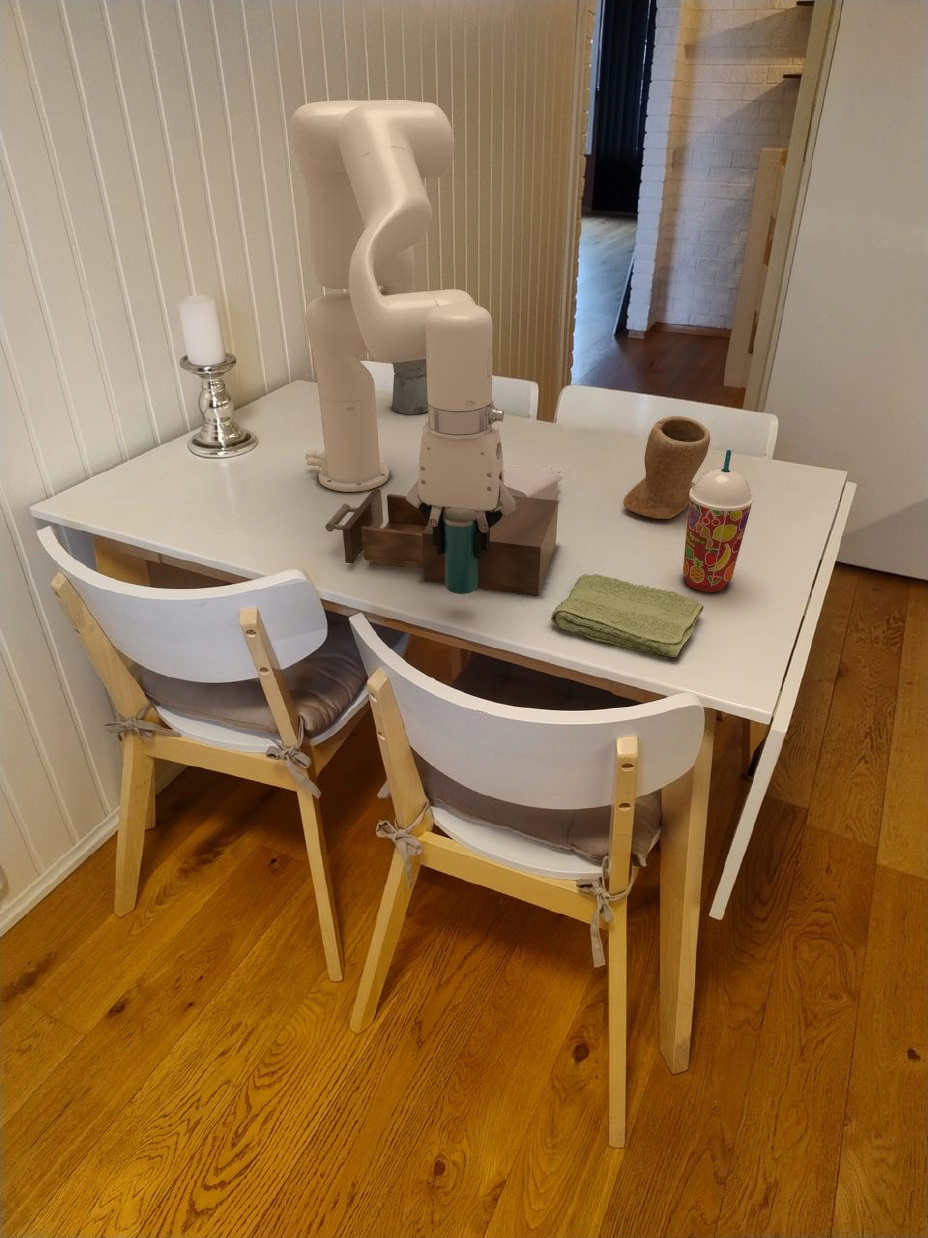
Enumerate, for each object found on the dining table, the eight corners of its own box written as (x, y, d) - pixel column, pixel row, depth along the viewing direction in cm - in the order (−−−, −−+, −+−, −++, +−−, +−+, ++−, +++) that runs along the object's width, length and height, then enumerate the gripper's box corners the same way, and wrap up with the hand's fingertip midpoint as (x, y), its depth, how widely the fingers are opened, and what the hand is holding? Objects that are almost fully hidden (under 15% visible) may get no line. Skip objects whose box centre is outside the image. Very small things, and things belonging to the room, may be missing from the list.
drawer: (319, 559, 124) (314, 524, 121) (351, 519, 135) (348, 485, 132) (447, 576, 120) (446, 539, 117) (470, 532, 131) (470, 498, 128)
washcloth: (679, 666, 103) (683, 644, 102) (546, 630, 110) (547, 610, 108) (704, 613, 113) (708, 593, 111) (580, 584, 120) (582, 564, 118)
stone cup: (681, 532, 133) (695, 442, 124) (613, 513, 138) (622, 426, 130) (716, 497, 143) (731, 412, 135) (651, 481, 149) (662, 399, 140)
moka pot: (382, 418, 176) (376, 320, 165) (399, 394, 189) (394, 301, 178) (426, 420, 175) (423, 322, 164) (440, 396, 187) (438, 303, 176)
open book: (576, 489, 146) (526, 520, 137) (533, 476, 151) (482, 504, 141) (578, 464, 144) (527, 493, 134) (534, 451, 148) (482, 478, 139)
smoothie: (668, 569, 123) (687, 439, 112) (724, 566, 124) (748, 437, 113) (686, 599, 116) (708, 464, 105) (744, 596, 117) (772, 462, 106)
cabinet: (423, 580, 121) (421, 532, 116) (450, 534, 133) (450, 489, 128) (538, 595, 117) (540, 546, 113) (555, 546, 129) (558, 500, 125)
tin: (449, 575, 114) (448, 504, 108) (482, 579, 113) (482, 508, 107) (440, 592, 110) (438, 520, 104) (474, 596, 109) (474, 524, 103)
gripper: (536, 411, 100) (530, 546, 110) (401, 400, 103) (408, 532, 113) (524, 433, 94) (519, 574, 104) (381, 421, 97) (390, 558, 107)
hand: (461, 551), depth 109 cm, fingers closed on tin, 4 cm apart
